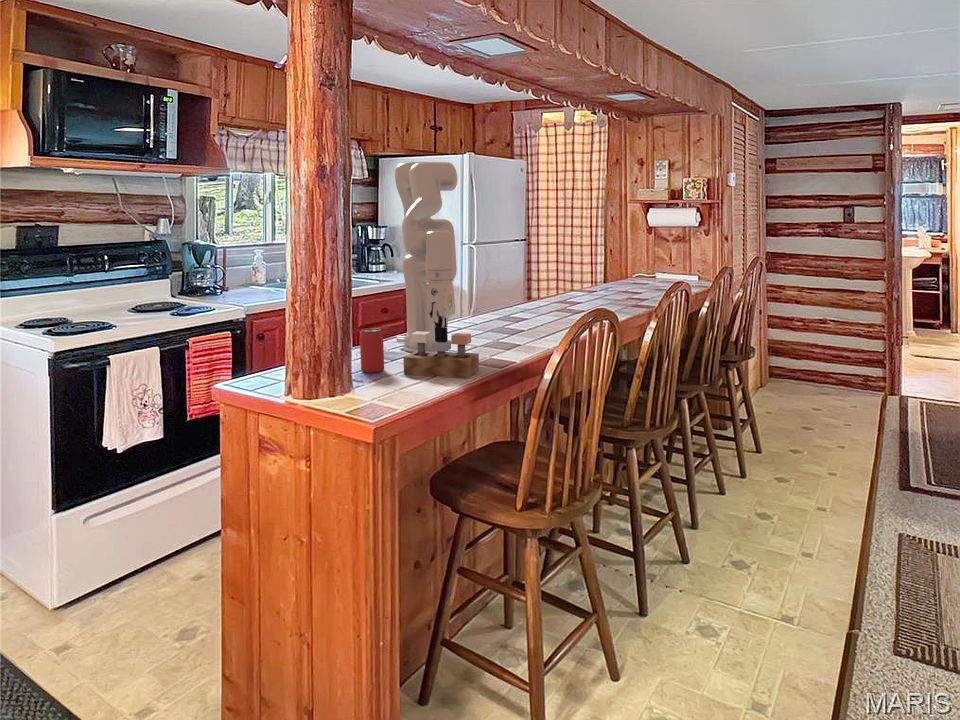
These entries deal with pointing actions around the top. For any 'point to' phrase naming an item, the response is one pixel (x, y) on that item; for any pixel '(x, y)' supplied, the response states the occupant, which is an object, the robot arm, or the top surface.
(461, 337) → the brick-red key
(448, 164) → the robot arm
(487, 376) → the top surface
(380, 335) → the beer can
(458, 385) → the top surface
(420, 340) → the white key
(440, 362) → the walnut console
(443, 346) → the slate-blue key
